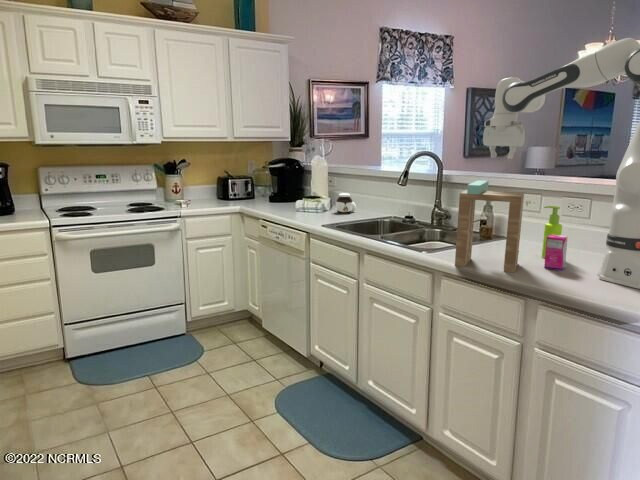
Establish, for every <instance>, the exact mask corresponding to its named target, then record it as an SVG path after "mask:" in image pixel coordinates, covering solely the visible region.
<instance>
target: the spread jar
mask: <svg viewBox="0 0 640 480" xmlns="http://www.w3.org/2000/svg"><path fill="white" fill-rule="evenodd" d="M335 208H336V212H337V213H338V214H344V215H345V214H346V215H347V214H350V213H353V212H355V211H356V210H357V205H356V203H355V202H354V201H353V199H352V197H351V194H350V193H347V192H346V193H345V192H343V193H339V194H338V198H337V199H336V201H335Z"/></svg>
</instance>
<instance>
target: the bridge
mask: <svg viewBox="0 0 640 480" xmlns="http://www.w3.org/2000/svg"><path fill="white" fill-rule="evenodd" d="M458 199H459V201H458V213H457V214H458V215H457V216H458V217H457V229H456V243H455V244H456V245H455V257H454V259H455V260H454V266H456V267H463V268H465V267H466V266H467V265H468V264H469V262H470V261H471V259H472V250H473V249H472V248H473V237H474V235H473V234H474V223H475V210H476V201H486V202H501V203H502V202H503V203H504V202H505V203H509V205H508V206H509V207H508V217H507V218H508V219H507V229H506V240H505V252H504V261H503V262H504V264H503V272H507V273H515V272H516V269H517V266H518V261H519V250H520V239H521V229H522V219H523V209H524V199H525V192H515V191H497V190H496V191H495V190H494V191H493V190H492V191H491V190H485V191H483V192H482V193H480V194H467V189H465V190H464V191H461V192H460V193H459V198H458Z"/></svg>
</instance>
